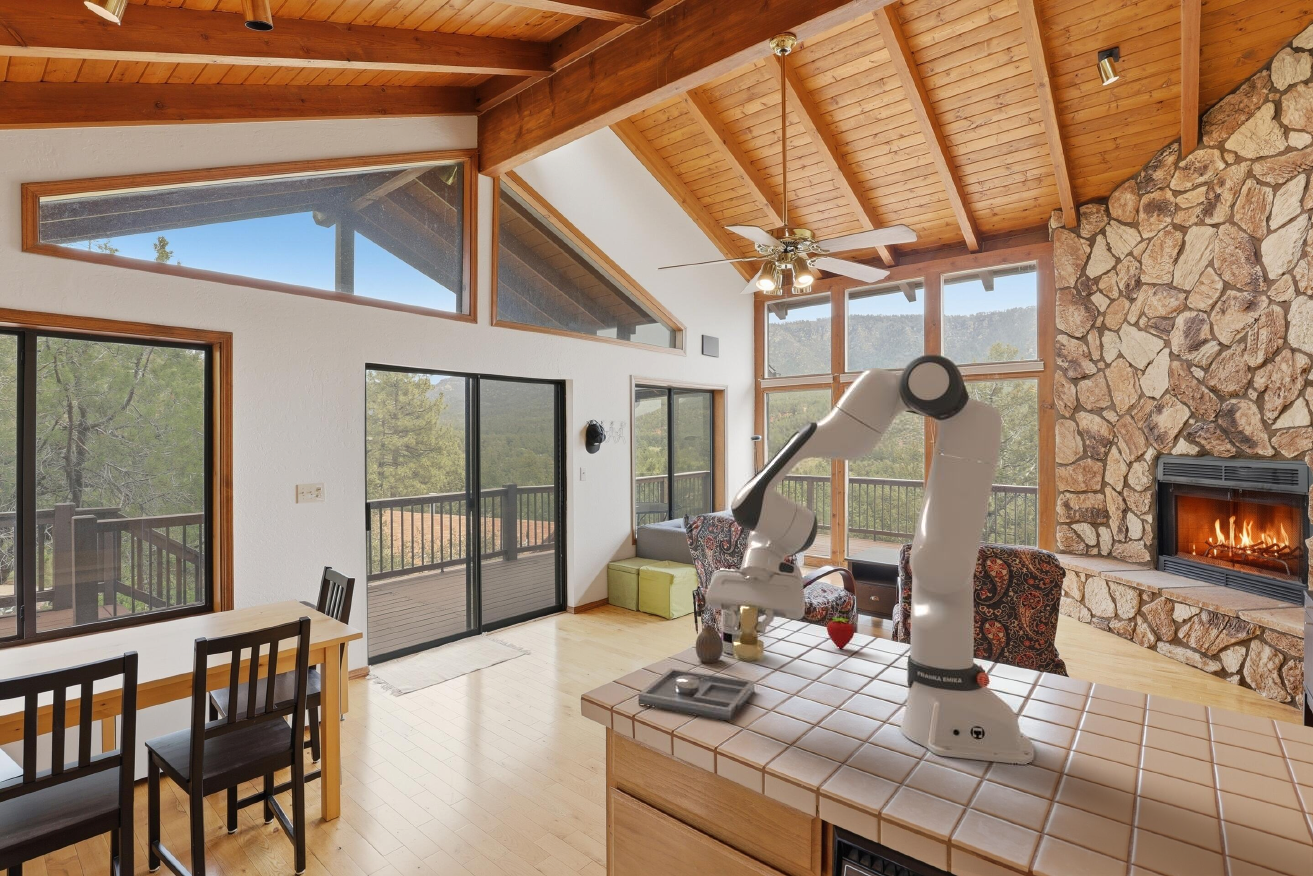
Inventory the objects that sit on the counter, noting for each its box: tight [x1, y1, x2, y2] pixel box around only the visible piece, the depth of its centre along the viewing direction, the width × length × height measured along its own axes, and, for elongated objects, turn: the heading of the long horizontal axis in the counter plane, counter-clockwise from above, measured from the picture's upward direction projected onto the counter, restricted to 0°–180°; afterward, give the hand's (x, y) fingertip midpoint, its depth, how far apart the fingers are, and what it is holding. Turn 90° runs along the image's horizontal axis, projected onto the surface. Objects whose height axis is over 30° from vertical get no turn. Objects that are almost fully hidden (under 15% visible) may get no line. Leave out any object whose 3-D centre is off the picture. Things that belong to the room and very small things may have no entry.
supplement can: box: [720, 610, 740, 655], centre depth 176 cm, size 8×8×15 cm
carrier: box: [637, 668, 755, 722], centre depth 142 cm, size 20×18×4 cm
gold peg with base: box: [732, 605, 765, 663], centre depth 132 cm, size 6×6×10 cm
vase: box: [695, 624, 724, 664], centre depth 168 cm, size 7×7×9 cm
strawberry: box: [826, 612, 855, 649], centre depth 179 cm, size 6×8×10 cm
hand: (747, 630), depth 131 cm, fingers closed on gold peg with base, 4 cm apart
